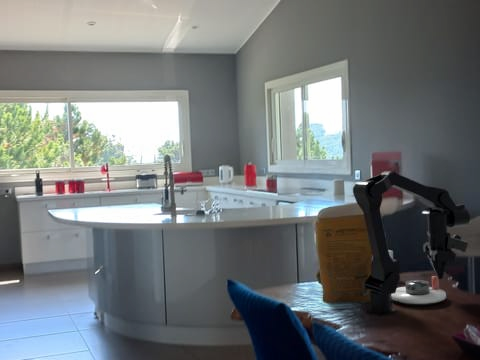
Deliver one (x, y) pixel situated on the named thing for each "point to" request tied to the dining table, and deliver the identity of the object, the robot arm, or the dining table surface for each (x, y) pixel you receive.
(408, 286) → the cover
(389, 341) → the dining table surface
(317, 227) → the pancake mix bag
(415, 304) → the turntable base
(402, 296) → the platter
